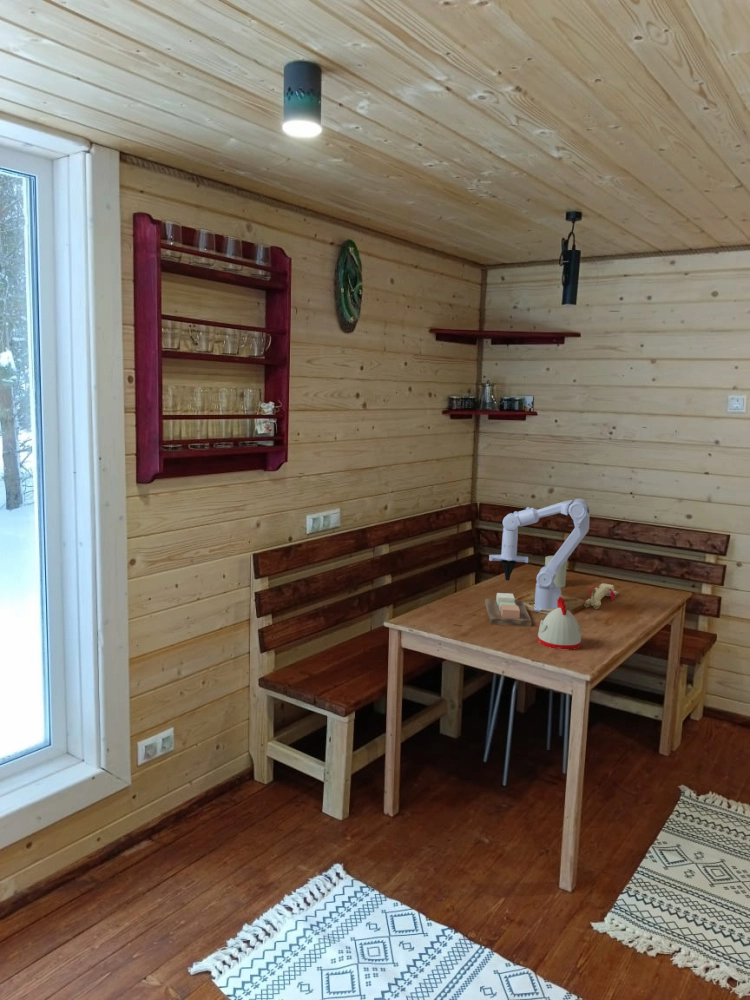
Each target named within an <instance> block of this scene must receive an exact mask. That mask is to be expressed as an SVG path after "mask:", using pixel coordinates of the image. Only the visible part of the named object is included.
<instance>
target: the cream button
mask: <svg viewBox="0 0 750 1000" xmlns="http://www.w3.org/2000/svg"><path fill="white" fill-rule="evenodd" d="M495 599H496V602H497V605H498V604H499V602H510V603H514V601H515V595H514V593H508V592H507V593H505V592H504V593H503V592H497V593H496V598H495Z"/></svg>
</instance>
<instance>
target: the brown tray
mask: <svg viewBox="0 0 750 1000" xmlns="http://www.w3.org/2000/svg"><path fill="white" fill-rule="evenodd" d="M514 603H515V604H516V605H517V606H518V607H519V609H520V618H519V619H509V618H502V617H501V614H500V613H501V612H499V609H498V605H497V602H496V598H485V600H484V605H485V607H486V611H487V615H488V618H489V623H490V624H491V625H500V626H501V625H503V626H516V627H517V626H520V627H532V619H531V617H530V614H529V612H528V611H527V608H526V605H525V604H524V601H523V600H515V601H514Z"/></svg>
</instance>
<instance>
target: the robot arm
mask: <svg viewBox="0 0 750 1000" xmlns="http://www.w3.org/2000/svg"><path fill="white" fill-rule="evenodd" d="M558 514H561V515H565V516H568V515H569V516H570V517H571V519H572V520H573V524H574V528H573V530H572V531H571V533H570V534H569V535H568V537H567V538H566V539H565V540H564V542H563V543H562V544H561V546H560V547H559V549H558V550H557V551H556V552H555V554H554V555H553V556H554V557H553V558H552V559H551V560H550V562H549V563H548V564H547V565H546V566H545V565H544V566H542V567H541V568H540V570H539V572H538V574H537V575H536V579H535V580H536V582H535V590H534V603H535V604H534V606H535V607H536V608H535V607H534V608H533V610H534V611H537V612H542V611H541V610H542V609H544V610H545V609H552V608H558V606H557V599H559V597H562V588H561V587H559V586H556V585H555V583H554V582H553V581H554V579H555V577H556V574H557V573H558V571H559V569H560V568H561V567H562V565H563V564H564V563H565V561H566V560H567V561H568V559H569V557H571V555H572V553H573V552H574V551H575V549H576V548H577V547H578V545H579V544H580V543H581V542H582V540H583V539H584V537H585V536H586V535H587V534H588V532H589V530H590V514H591V513H590V508H589V504H588V502H587V501H586V500H585V499H583V498H575V499H570V500H569V499H567V500H565V501H561V502H558V503H553V504H551V505H548V506H545V507H541V508H540V509H537V508H535V507H530V506H528V507H526V508H525V509H523V510H519V511H517V510H516V511H514V512H513V513H512V512H510V513H508V514H507V515H506V516H504V517H503V520H502V536H501V537H502V538H501V539H502V540H501V553H500V554H489V555H488V557H489V558H488V561H489V562H494V561H495V562H501V565H502V568H503V572H504V579H505V581H510V578H511V576H512V573H513V571H514V569H515V567H516V565H517V562H518V563H526V564H528V563H529V556H522V555H517V553H518V539H519V538H518V537H519V536H518V535H519V533H518V531H519V527H524V526H529V525H532V524H535V523H539V520H540V519H541V518H544V517H549V516H553V515H558Z"/></svg>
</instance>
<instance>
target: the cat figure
mask: <svg viewBox="0 0 750 1000" xmlns="http://www.w3.org/2000/svg"><path fill="white" fill-rule="evenodd" d="M589 594H590V598H588V599H587V600H585V603H584V604H583V606H584V607H585V608H586V609H587V608H588V609H589V608H590V607H593V609H594V610H598V609H599V610H600V606H601V605H602V604H601V603H602V602H601V600H602V599H603V598H604V597H610V598H609V600H608V602H611V601H613V600H614V599H615V598H616V596H617V595H618V594H619V592H618V591H616V590H615V586H614V585H613V584H609V583H605V582H603V583H601V584H599V585H595V586H593V587H591V588H590V590H589Z"/></svg>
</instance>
